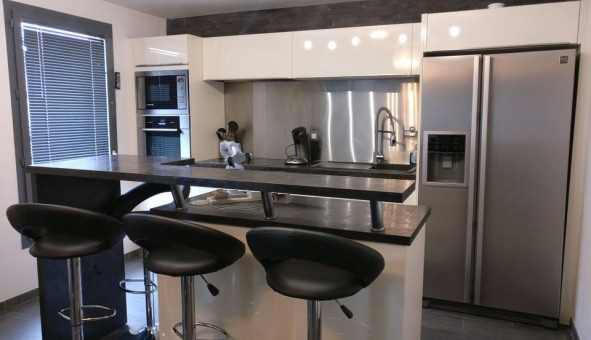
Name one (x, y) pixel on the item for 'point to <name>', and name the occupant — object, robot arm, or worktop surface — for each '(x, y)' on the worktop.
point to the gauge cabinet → (253, 194)
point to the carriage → (220, 194)
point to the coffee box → (281, 195)
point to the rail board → (232, 199)
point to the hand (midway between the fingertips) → (241, 164)
